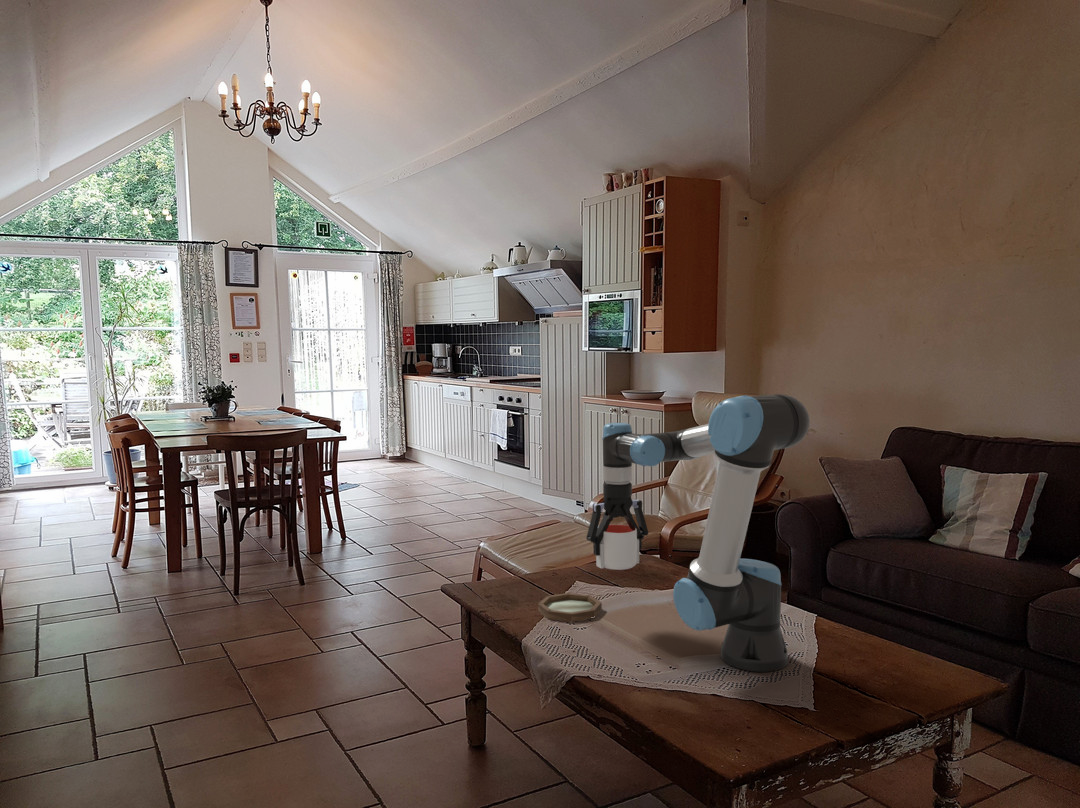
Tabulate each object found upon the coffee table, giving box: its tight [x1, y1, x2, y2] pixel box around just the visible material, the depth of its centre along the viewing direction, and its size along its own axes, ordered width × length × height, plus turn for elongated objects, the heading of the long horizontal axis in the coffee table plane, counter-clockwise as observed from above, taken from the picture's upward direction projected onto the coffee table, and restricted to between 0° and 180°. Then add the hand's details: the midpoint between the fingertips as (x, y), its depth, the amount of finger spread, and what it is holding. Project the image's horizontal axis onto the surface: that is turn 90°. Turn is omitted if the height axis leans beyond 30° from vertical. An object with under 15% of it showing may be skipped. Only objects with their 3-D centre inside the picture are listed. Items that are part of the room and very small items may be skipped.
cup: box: [601, 524, 637, 571], centre depth 203 cm, size 10×10×10 cm
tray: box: [537, 592, 603, 623], centre depth 214 cm, size 16×16×2 cm
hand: (617, 564), depth 203 cm, fingers closed on cup, 10 cm apart
